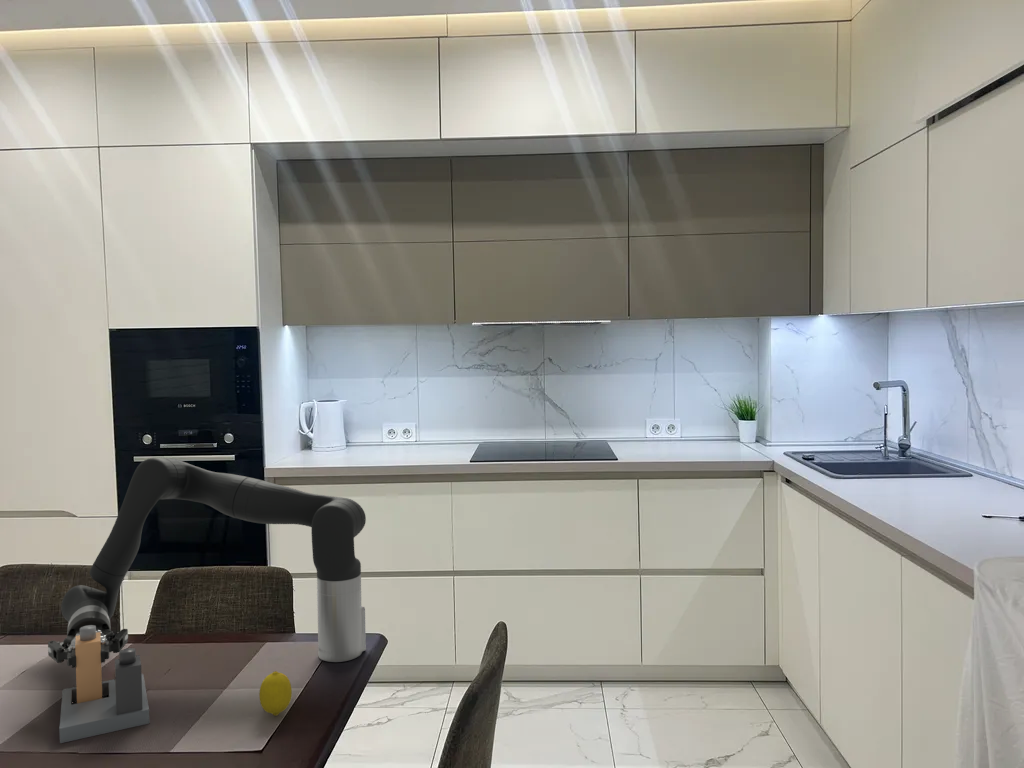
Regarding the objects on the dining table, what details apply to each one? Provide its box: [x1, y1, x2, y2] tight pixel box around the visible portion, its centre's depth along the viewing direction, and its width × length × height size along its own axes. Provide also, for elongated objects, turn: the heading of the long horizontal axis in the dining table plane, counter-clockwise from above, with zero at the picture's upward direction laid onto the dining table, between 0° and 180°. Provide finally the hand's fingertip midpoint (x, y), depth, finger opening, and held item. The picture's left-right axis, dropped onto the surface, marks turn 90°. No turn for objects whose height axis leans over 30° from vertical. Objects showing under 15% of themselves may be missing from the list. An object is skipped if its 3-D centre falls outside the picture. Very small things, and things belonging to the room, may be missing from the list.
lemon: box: [258, 670, 293, 717], centre depth 134 cm, size 6×6×8 cm
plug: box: [75, 625, 103, 704], centre depth 138 cm, size 4×5×13 cm
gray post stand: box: [58, 647, 150, 744], centre depth 135 cm, size 14×17×12 cm
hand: (88, 659), depth 135 cm, fingers closed on plug, 4 cm apart
